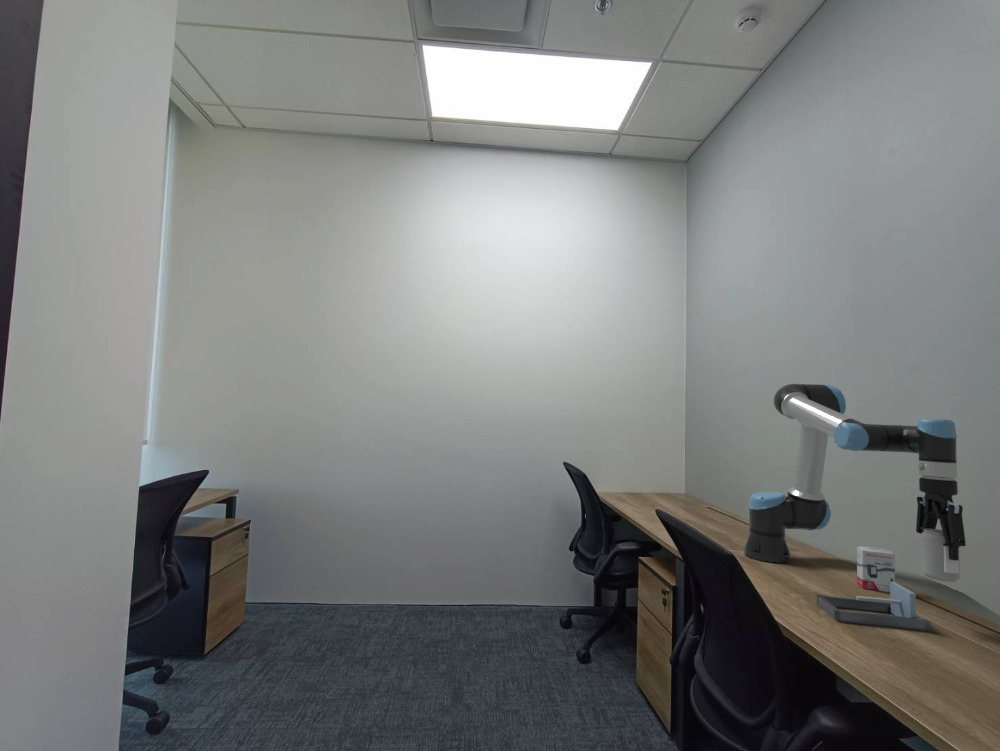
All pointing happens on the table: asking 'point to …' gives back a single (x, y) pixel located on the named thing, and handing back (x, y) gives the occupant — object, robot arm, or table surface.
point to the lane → (868, 618)
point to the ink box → (875, 568)
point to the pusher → (897, 601)
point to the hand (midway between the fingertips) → (940, 567)
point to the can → (935, 556)
